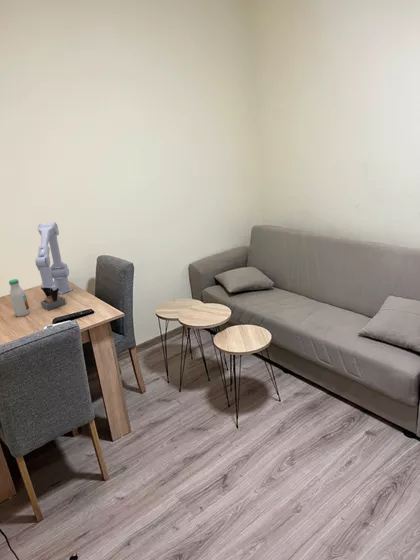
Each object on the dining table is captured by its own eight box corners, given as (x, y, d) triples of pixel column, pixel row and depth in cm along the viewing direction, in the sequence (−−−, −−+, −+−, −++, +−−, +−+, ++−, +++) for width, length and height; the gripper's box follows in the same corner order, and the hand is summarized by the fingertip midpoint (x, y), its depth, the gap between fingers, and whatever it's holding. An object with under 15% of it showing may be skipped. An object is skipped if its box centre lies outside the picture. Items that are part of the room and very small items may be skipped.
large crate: (41, 307, 230) (40, 301, 229) (59, 300, 237) (57, 295, 236) (48, 310, 224) (47, 304, 223) (66, 303, 231) (64, 298, 230)
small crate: (46, 305, 230) (44, 297, 228) (58, 301, 235) (56, 293, 233) (50, 307, 227) (48, 299, 225) (62, 303, 231) (60, 295, 229)
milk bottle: (24, 316, 219) (15, 282, 212) (12, 316, 221) (2, 283, 214) (33, 310, 226) (23, 277, 219) (21, 310, 228) (11, 278, 221)
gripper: (34, 277, 227) (40, 299, 232) (45, 281, 217) (51, 304, 222) (46, 273, 231) (51, 294, 236) (57, 277, 222) (63, 300, 226)
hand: (52, 299), depth 229 cm, fingers open, 7 cm apart
